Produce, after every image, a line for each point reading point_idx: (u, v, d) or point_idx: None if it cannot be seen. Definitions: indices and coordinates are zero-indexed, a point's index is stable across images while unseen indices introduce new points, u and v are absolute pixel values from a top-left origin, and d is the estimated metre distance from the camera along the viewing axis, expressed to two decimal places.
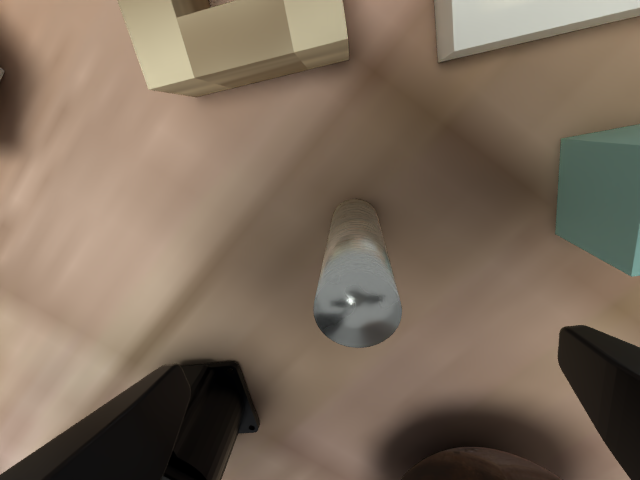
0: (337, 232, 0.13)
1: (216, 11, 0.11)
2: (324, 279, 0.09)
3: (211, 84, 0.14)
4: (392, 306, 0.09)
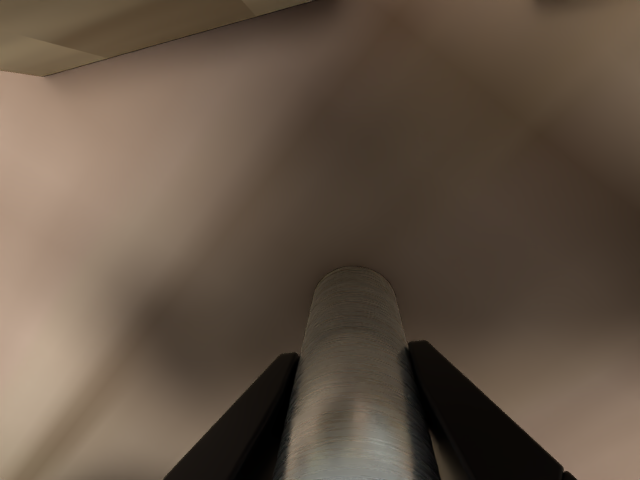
0: (307, 413, 0.05)
1: None
2: None
3: (21, 39, 0.06)
4: None
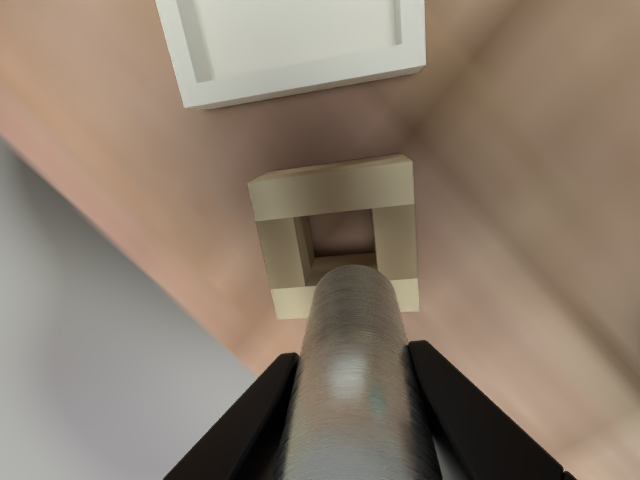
0: (308, 411, 0.05)
1: (379, 254, 0.16)
2: None
3: None
4: None
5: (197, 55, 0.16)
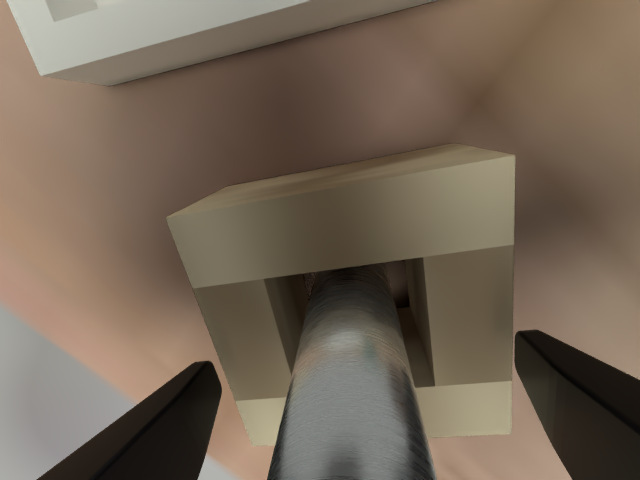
0: (318, 318, 0.07)
1: (436, 340, 0.08)
2: None
3: None
4: None
5: None
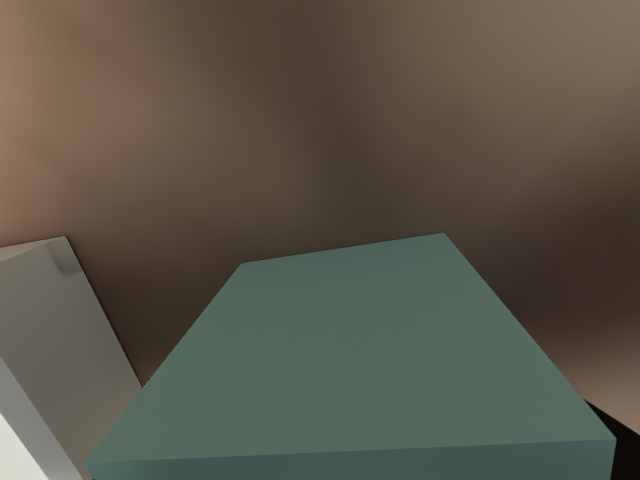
0: None
1: None
2: None
3: None
4: None
5: None
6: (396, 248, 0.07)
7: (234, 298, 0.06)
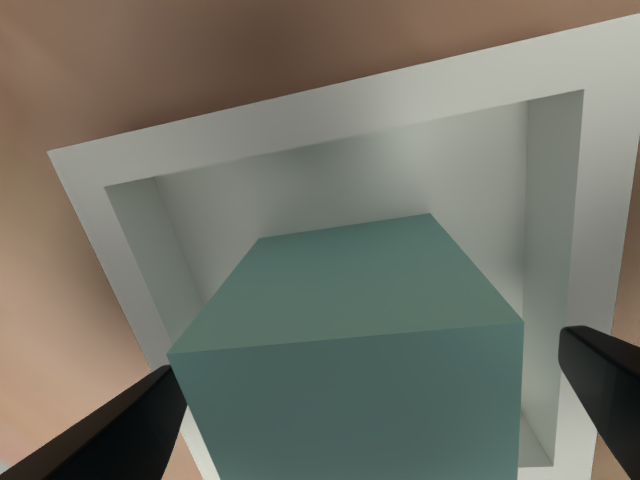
0: None
1: None
2: None
3: None
4: None
5: None
6: (390, 225, 0.08)
7: (257, 261, 0.08)
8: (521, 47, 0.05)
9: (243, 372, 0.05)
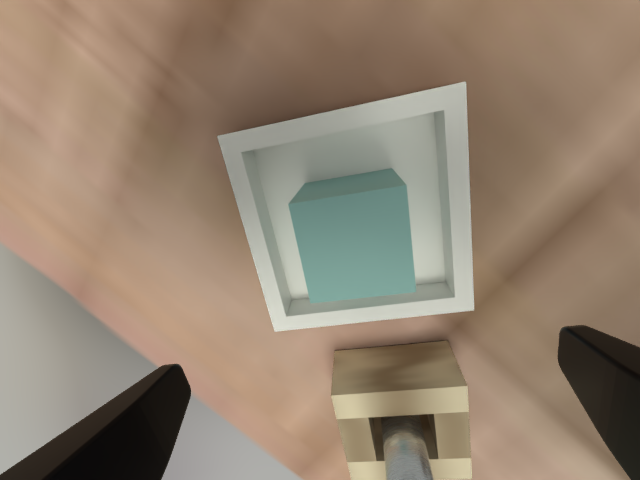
0: (393, 438, 0.19)
1: (439, 442, 0.20)
2: None
3: None
4: None
5: (283, 290, 0.19)
6: (371, 173, 0.17)
7: (309, 187, 0.16)
8: (418, 94, 0.14)
9: (315, 210, 0.13)
